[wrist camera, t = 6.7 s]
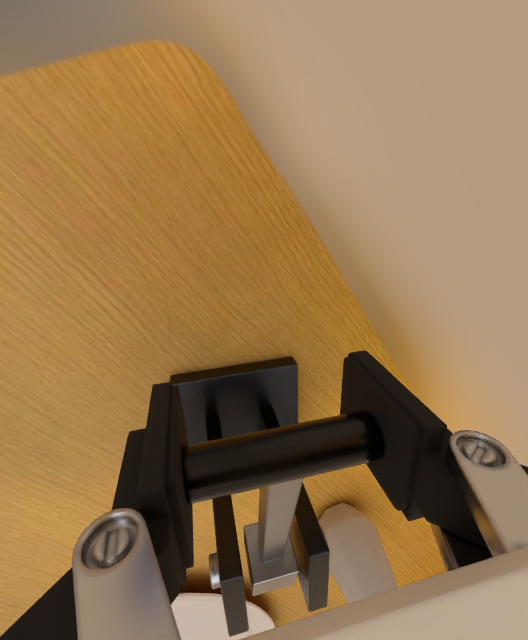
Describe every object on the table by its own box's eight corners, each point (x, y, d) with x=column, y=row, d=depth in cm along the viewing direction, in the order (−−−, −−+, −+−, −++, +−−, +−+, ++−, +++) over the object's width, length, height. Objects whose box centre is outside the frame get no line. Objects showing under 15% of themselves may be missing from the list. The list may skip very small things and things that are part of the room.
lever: (180, 420, 9) (184, 513, 7) (359, 387, 10) (400, 462, 8) (214, 549, 18) (220, 606, 16) (308, 525, 19) (323, 575, 17)
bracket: (170, 375, 22) (156, 544, 12) (292, 356, 24) (377, 488, 13) (191, 487, 27) (195, 685, 16) (294, 464, 28) (359, 630, 18)
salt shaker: (366, 491, 32) (471, 665, 20) (360, 529, 34) (452, 707, 22) (311, 503, 31) (388, 696, 19) (309, 542, 33) (377, 737, 21)
